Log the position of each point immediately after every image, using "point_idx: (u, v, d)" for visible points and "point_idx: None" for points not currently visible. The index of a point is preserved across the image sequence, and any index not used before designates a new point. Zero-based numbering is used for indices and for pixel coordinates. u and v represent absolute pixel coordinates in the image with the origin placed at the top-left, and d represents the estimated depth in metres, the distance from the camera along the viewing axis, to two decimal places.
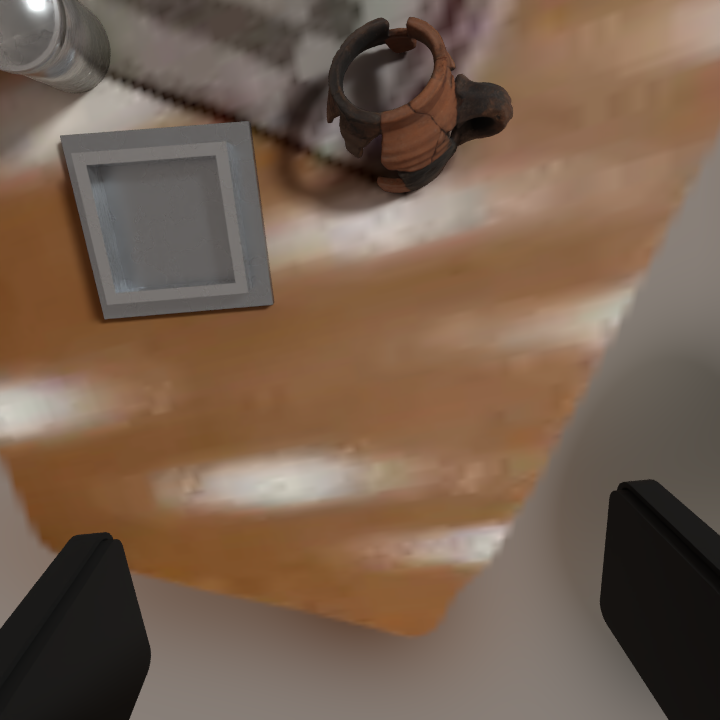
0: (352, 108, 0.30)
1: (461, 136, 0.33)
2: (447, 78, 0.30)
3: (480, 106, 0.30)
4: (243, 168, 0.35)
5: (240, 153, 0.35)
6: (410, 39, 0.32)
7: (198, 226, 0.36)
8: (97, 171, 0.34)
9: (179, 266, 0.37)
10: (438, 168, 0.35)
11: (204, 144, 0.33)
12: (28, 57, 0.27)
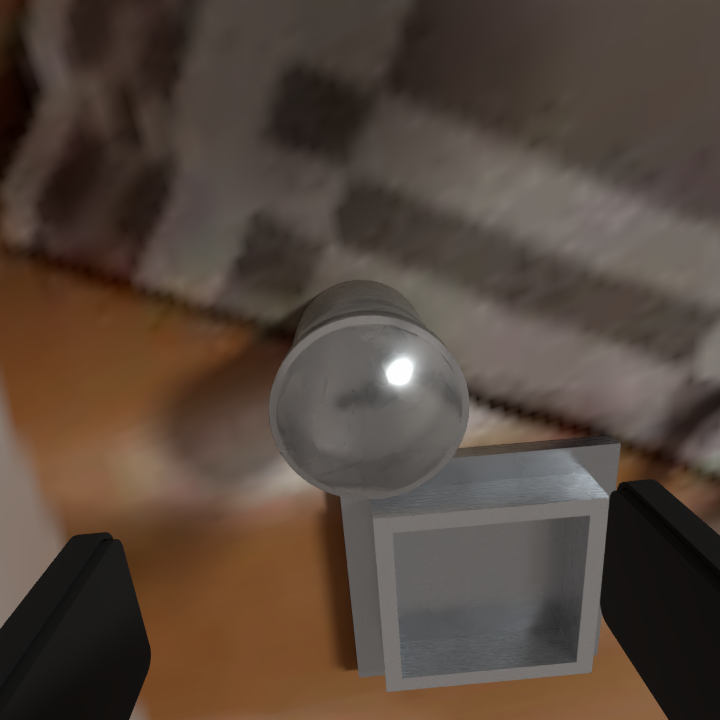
0: None
1: None
2: None
3: None
4: None
5: (598, 482, 0.23)
6: None
7: (514, 570, 0.25)
8: None
9: (477, 616, 0.26)
10: None
11: (576, 503, 0.21)
12: (400, 481, 0.16)
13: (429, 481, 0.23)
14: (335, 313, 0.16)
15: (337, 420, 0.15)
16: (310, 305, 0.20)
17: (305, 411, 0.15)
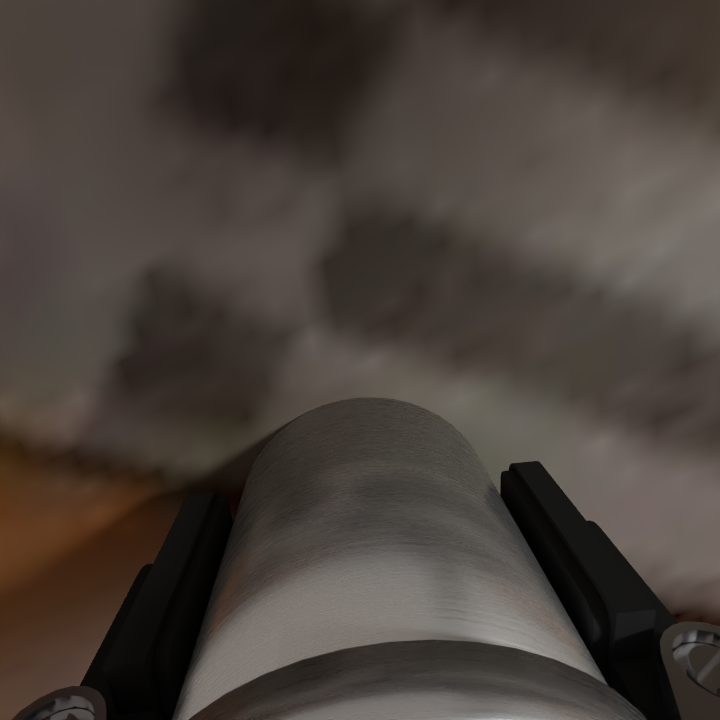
0: None
1: None
2: None
3: None
4: None
5: None
6: None
7: None
8: None
9: None
10: None
11: None
12: None
13: None
14: (309, 582, 0.06)
15: None
16: (267, 454, 0.10)
17: None
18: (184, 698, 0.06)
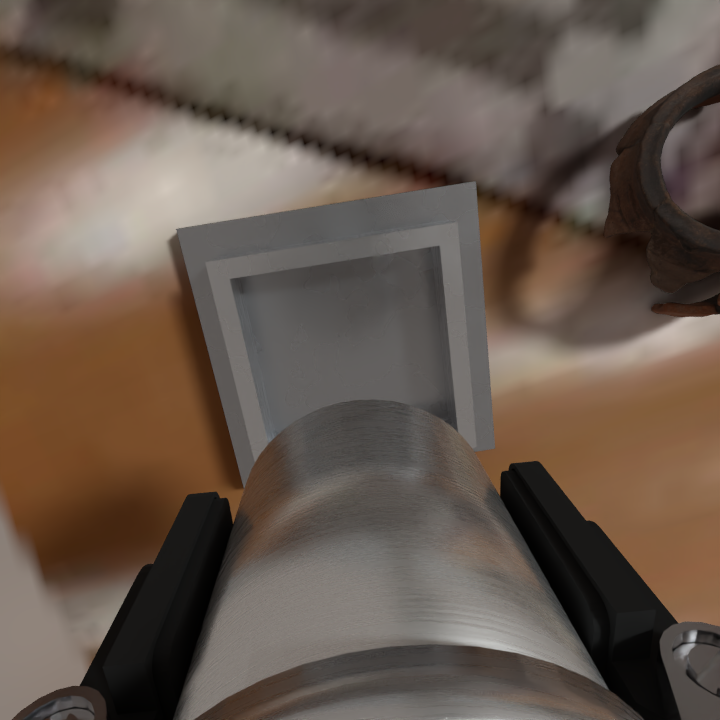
0: (702, 230, 0.17)
1: None
2: None
3: None
4: (462, 255, 0.22)
5: (459, 232, 0.22)
6: None
7: (388, 347, 0.23)
8: (238, 280, 0.21)
9: None
10: None
11: (422, 230, 0.20)
12: None
13: (278, 240, 0.21)
14: (309, 586, 0.06)
15: None
16: (267, 456, 0.10)
17: None
18: (184, 702, 0.05)
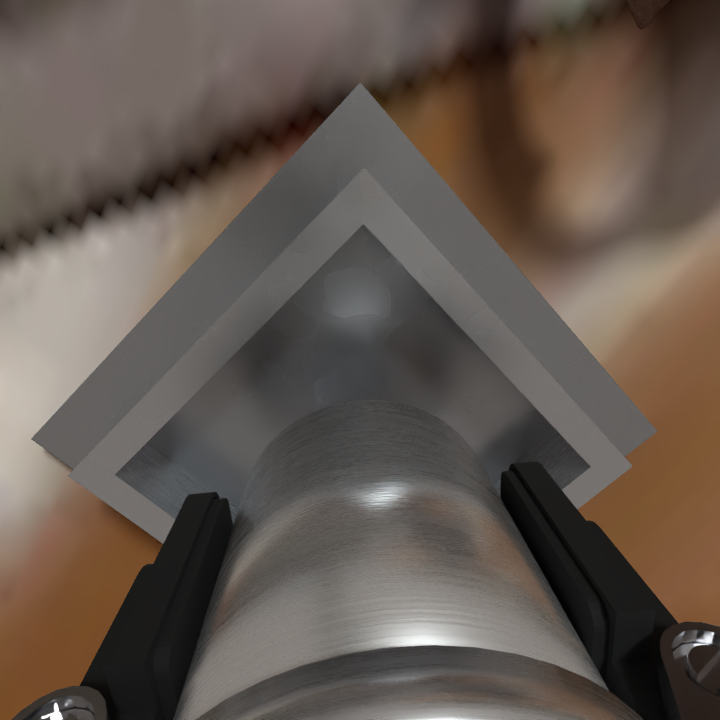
0: None
1: None
2: None
3: None
4: (419, 204, 0.13)
5: (391, 175, 0.12)
6: None
7: (406, 399, 0.14)
8: (146, 453, 0.14)
9: None
10: None
11: (319, 222, 0.11)
12: None
13: (158, 366, 0.14)
14: (309, 587, 0.06)
15: None
16: (267, 456, 0.10)
17: None
18: (184, 702, 0.05)
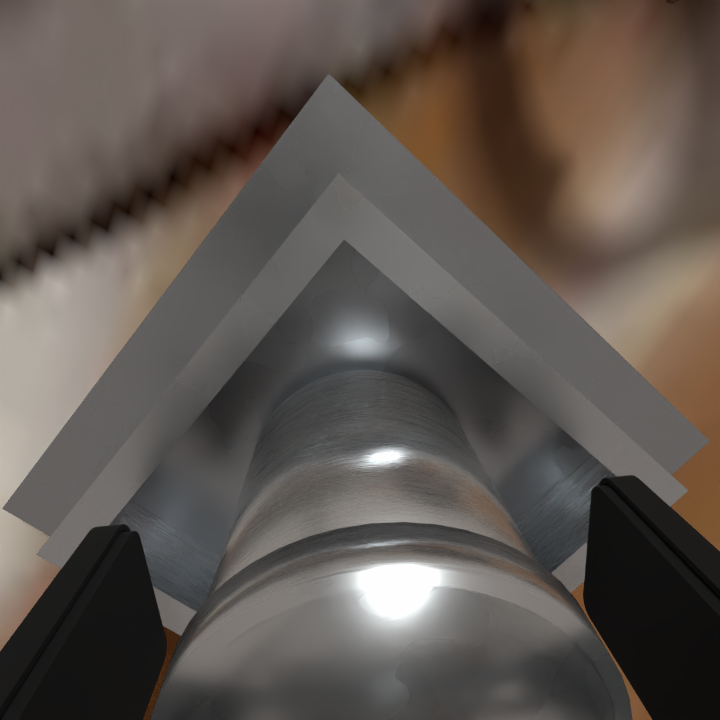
0: None
1: None
2: None
3: None
4: (411, 208, 0.11)
5: (375, 178, 0.11)
6: None
7: None
8: (128, 515, 0.12)
9: None
10: None
11: (291, 242, 0.09)
12: None
13: (133, 417, 0.12)
14: (311, 497, 0.07)
15: None
16: (275, 418, 0.11)
17: None
18: (214, 586, 0.07)
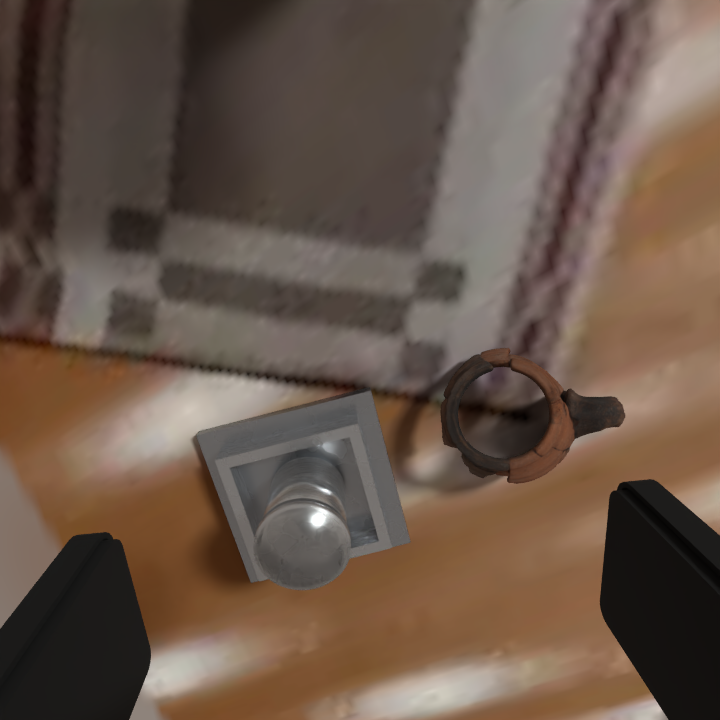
0: (479, 457, 0.31)
1: None
2: None
3: (597, 425, 0.31)
4: (369, 431, 0.36)
5: (365, 419, 0.36)
6: None
7: None
8: None
9: None
10: None
11: (337, 430, 0.34)
12: (295, 583, 0.31)
13: (256, 435, 0.36)
14: (313, 492, 0.32)
15: (287, 543, 0.30)
16: (298, 461, 0.36)
17: (277, 532, 0.30)
18: (284, 498, 0.31)
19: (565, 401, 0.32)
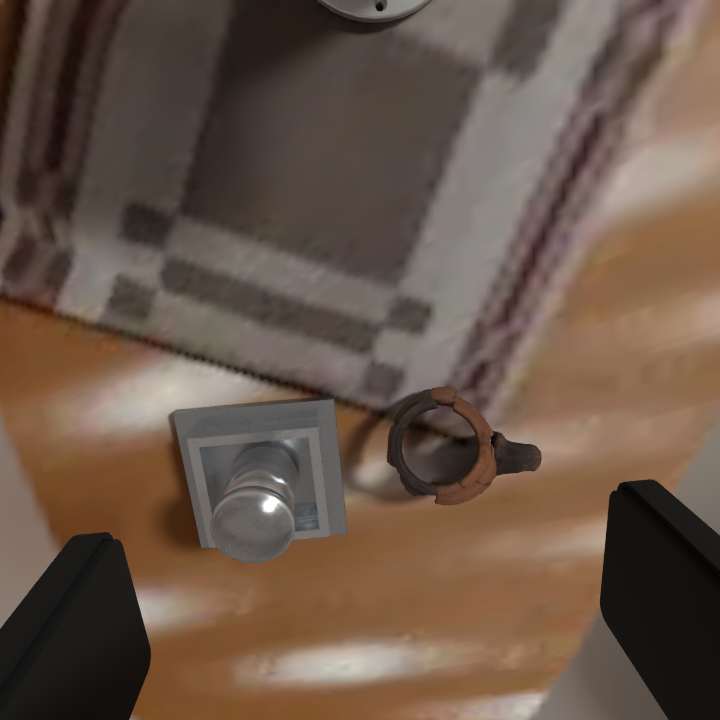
0: (413, 480, 0.37)
1: None
2: None
3: (516, 468, 0.37)
4: (327, 433, 0.41)
5: (325, 422, 0.41)
6: None
7: None
8: None
9: None
10: None
11: (299, 430, 0.39)
12: (241, 556, 0.36)
13: (227, 421, 0.40)
14: (269, 481, 0.36)
15: (240, 522, 0.35)
16: (260, 450, 0.40)
17: (232, 512, 0.35)
18: (243, 483, 0.36)
19: (493, 443, 0.38)
